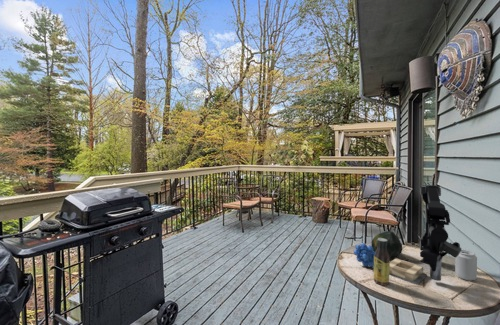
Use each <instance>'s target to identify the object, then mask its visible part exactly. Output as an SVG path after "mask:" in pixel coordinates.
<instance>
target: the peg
mask: <svg viewBox="0 0 500 325" xmlns="http://www.w3.org/2000/svg"><path fill="white" fill-rule="evenodd" d="M440 258H442V257H441V256H440ZM442 259H443V258H442ZM429 278H430V279H431V280H434V281H436V282H437V281H438V282H440V281H442V260H441V259H440V260H439V261H438V262H437V267H436V271H432V269H431V267H430V266H429Z"/></svg>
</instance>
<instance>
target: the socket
mask: <svg viewBox="0 0 500 325" xmlns="http://www.w3.org/2000/svg"><path fill="white" fill-rule="evenodd" d="M389 276H391V277H394V278H398V279H400V280H402V281H405V282H409V283H411V284H414V285H416V286H417V285H419V283H421V282H422V281H423V280H424V279H425V278H427V277H428V274H427V273H425V272H424V266H423V265H419V264H416V263H414V262H409V261H406V260H402V259H399V258H398V257H397V258H393V260H391V261H390V268H389Z"/></svg>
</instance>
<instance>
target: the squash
mask: <svg viewBox="0 0 500 325" xmlns="http://www.w3.org/2000/svg"><path fill="white" fill-rule="evenodd" d="M378 238H384V239H387V241H388V243H387V252H388V253H389V256H390V258H391V259H396V258H397V259H398V257H399V256H400V255H401V254H402V252H403V245H402V243H401V240H400V238H399V237H398V236H397V234H395V232H393V231H391V230H388V231H384V232H381V233H378V234H376V235H375V236H374V237H373V238H372V240H371V244H370V246H372V247H373V251H375V252H376V250H377V246H378V242H377V239H378Z"/></svg>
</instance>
